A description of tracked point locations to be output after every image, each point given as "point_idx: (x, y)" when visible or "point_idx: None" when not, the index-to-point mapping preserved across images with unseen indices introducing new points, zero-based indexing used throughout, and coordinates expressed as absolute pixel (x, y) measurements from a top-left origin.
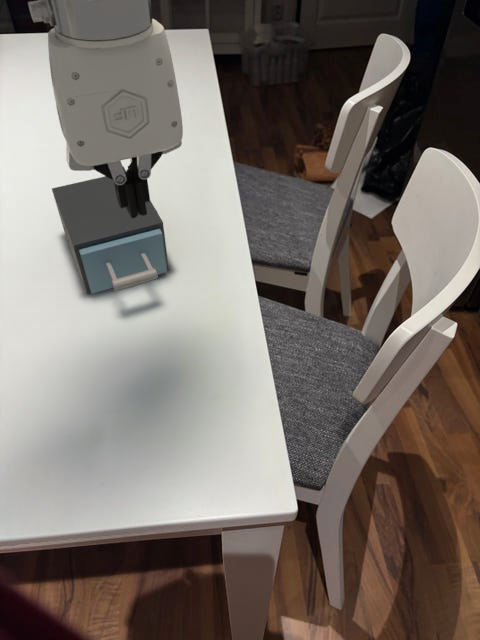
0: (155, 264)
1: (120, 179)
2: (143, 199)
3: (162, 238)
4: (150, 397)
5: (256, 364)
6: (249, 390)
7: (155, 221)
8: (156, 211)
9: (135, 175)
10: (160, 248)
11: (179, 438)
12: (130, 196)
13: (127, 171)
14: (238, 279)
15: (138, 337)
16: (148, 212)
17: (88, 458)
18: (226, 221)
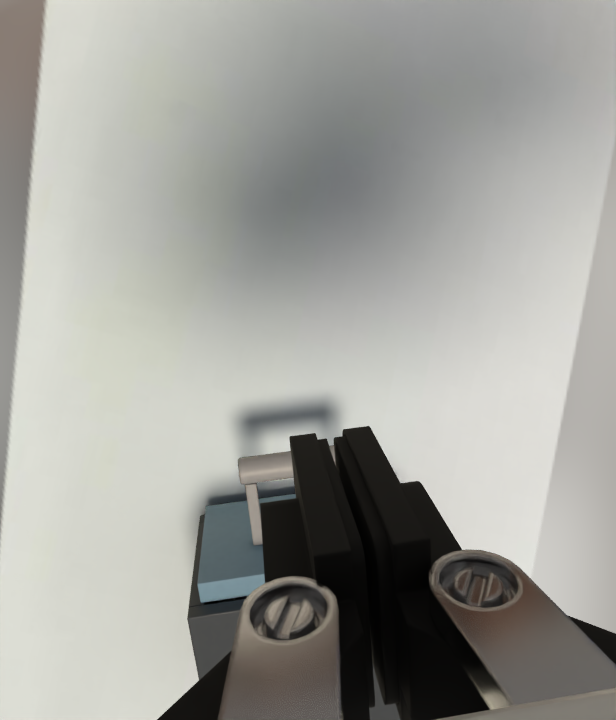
0: (230, 521)
1: (471, 585)
2: (306, 480)
3: (200, 571)
4: (321, 161)
5: (55, 170)
6: (92, 97)
7: (207, 624)
8: (196, 661)
9: (350, 618)
10: (210, 551)
11: (285, 23)
12: (390, 490)
13: (372, 690)
14: (37, 449)
15: (310, 337)
16: (219, 661)
17: (477, 48)
18: (24, 641)
